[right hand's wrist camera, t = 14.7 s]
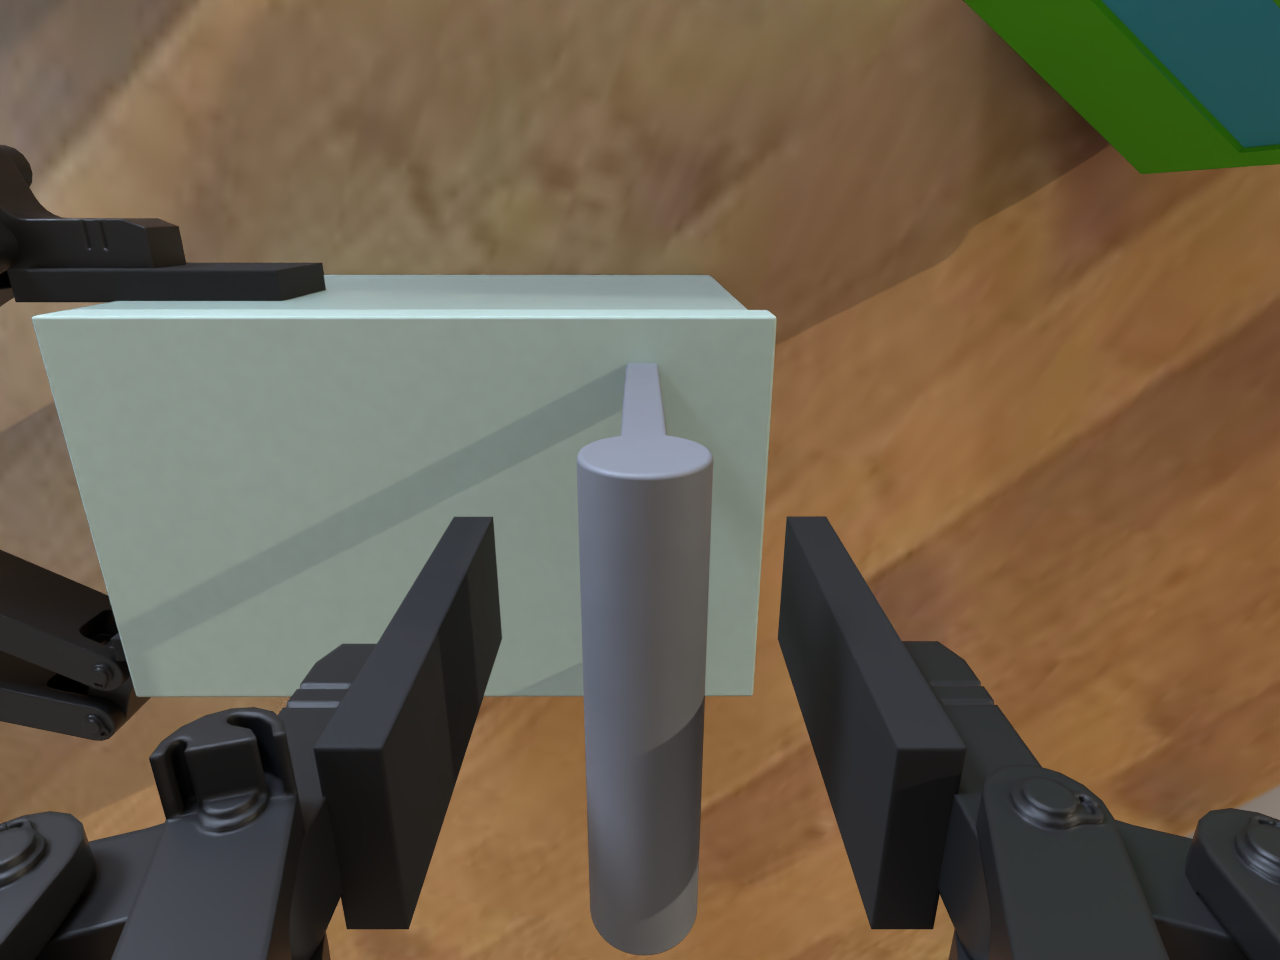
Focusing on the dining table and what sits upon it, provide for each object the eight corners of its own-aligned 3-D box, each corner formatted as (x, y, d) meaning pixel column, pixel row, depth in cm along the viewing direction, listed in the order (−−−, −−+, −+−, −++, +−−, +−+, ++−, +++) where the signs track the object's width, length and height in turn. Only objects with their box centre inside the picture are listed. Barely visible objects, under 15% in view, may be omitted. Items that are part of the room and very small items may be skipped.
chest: (710, 274, 25) (749, 309, 17) (702, 529, 29) (731, 672, 20) (266, 274, 25) (67, 309, 17) (309, 529, 29) (162, 672, 20)
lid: (769, 309, 17) (896, 406, 8) (747, 672, 20) (824, 994, 12) (65, 309, 16) (-491, 406, 8) (160, 673, 20) (-174, 998, 12)
